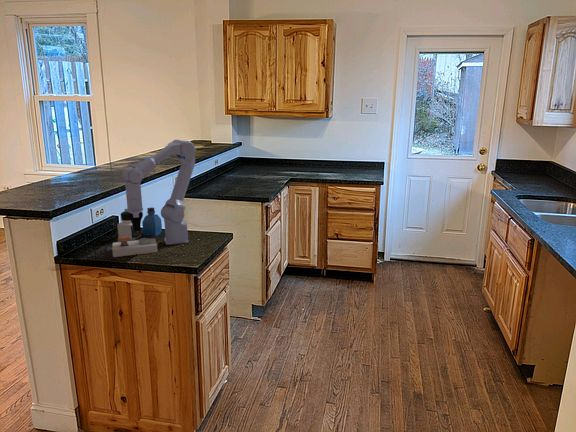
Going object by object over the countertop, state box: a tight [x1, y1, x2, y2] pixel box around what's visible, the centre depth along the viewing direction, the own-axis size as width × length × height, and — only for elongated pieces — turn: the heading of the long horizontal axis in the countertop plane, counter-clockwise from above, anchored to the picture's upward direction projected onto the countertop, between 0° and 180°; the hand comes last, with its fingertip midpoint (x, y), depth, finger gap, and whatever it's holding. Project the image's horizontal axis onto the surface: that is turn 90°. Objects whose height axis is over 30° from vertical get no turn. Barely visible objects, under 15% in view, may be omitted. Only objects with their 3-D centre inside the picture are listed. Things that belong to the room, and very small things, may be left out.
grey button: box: [138, 237, 151, 244], centre depth 189 cm, size 4×4×4 cm
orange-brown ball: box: [117, 236, 131, 247], centre depth 186 cm, size 4×4×4 cm
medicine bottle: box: [116, 210, 142, 241], centre depth 204 cm, size 7×7×12 cm
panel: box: [111, 237, 158, 258], centre depth 188 cm, size 17×10×3 cm, turn 110°
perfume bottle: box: [141, 207, 163, 237], centre depth 210 cm, size 6×6×12 cm
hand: (136, 230), depth 186 cm, fingers closed
